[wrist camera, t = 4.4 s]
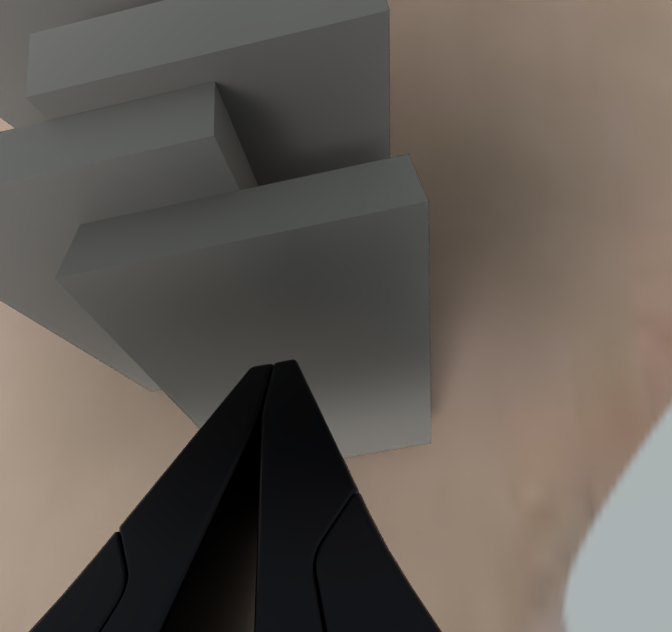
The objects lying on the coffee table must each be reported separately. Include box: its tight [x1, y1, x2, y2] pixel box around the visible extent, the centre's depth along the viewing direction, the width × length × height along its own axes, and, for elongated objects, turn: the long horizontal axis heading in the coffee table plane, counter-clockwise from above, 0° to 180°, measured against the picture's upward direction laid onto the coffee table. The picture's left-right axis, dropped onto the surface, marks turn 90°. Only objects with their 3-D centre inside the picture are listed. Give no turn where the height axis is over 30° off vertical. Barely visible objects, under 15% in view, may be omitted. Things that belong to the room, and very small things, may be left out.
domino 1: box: [0, 0, 163, 128], centre depth 12 cm, size 1×6×9 cm, turn 100°
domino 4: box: [55, 154, 431, 458], centre depth 10 cm, size 1×6×9 cm, turn 99°
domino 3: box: [0, 82, 258, 392], centre depth 11 cm, size 1×6×9 cm, turn 100°
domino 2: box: [25, 0, 390, 186], centre depth 11 cm, size 1×6×9 cm, turn 100°
